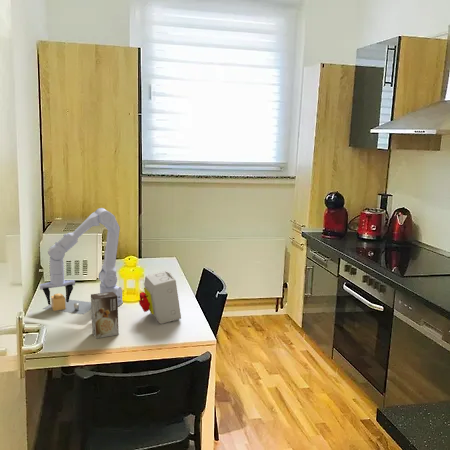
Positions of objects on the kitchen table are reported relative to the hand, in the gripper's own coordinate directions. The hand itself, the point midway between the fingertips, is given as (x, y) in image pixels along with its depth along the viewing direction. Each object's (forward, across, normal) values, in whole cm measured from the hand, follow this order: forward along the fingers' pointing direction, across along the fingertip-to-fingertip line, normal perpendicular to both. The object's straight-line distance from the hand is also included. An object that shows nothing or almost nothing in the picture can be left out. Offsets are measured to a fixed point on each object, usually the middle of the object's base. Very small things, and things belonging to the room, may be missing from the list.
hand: (58, 302), depth 216 cm
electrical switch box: (+4, -36, +26) cm, 45 cm away
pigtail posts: (+2, -3, +3) cm, 5 cm away
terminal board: (+4, -6, 0) cm, 7 cm away
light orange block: (+2, 0, 0) cm, 2 cm away
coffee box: (+4, -11, +32) cm, 35 cm away
